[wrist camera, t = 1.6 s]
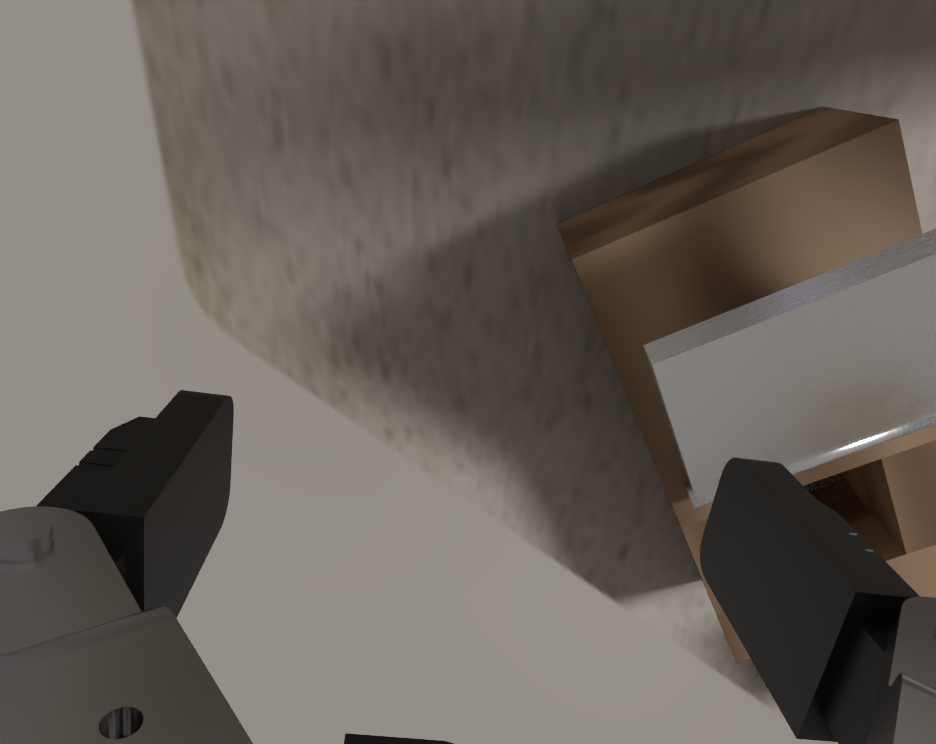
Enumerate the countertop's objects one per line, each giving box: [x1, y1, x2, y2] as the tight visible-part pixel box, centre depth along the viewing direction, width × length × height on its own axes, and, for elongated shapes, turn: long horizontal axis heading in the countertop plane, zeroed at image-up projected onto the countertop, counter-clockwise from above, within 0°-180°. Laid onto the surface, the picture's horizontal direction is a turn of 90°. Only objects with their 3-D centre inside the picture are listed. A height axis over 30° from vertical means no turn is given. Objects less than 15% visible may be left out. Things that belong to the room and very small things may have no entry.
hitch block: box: [557, 107, 936, 663], centre depth 33 cm, size 12×22×6 cm, turn 24°
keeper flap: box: [643, 229, 936, 509], centre depth 26 cm, size 10×12×1 cm
